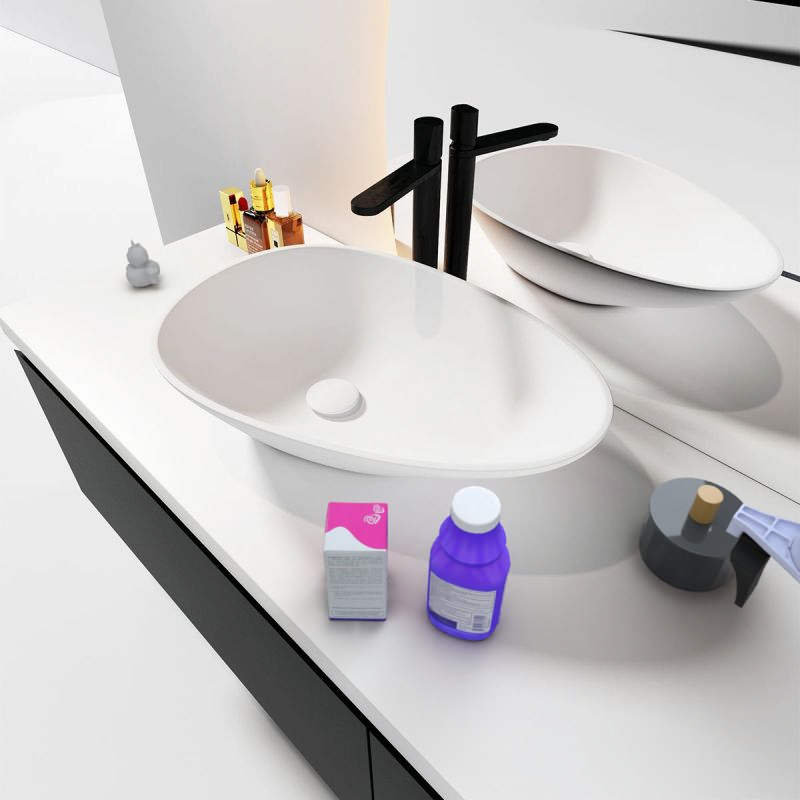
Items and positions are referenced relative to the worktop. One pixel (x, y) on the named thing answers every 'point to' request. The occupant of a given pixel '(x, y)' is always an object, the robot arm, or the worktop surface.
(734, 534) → the robot arm
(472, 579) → the bottle
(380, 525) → the supplement box
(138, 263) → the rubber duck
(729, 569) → the pot
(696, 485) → the lid
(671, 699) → the worktop surface
